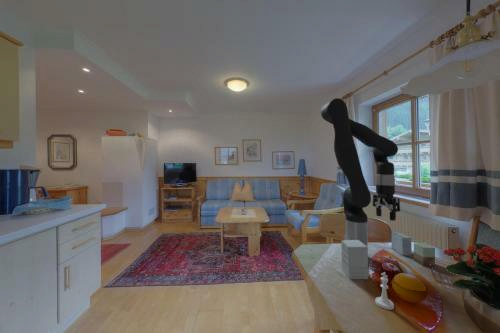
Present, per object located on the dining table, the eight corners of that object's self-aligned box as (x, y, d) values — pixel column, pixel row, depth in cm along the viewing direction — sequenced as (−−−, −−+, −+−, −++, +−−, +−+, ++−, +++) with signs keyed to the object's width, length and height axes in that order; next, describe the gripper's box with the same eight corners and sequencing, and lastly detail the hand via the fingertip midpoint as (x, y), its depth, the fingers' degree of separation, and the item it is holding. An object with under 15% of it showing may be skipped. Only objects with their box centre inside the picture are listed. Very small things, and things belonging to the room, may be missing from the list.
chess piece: (387, 311, 60) (387, 278, 60) (371, 301, 64) (371, 270, 64) (397, 306, 62) (397, 274, 62) (381, 297, 66) (381, 267, 66)
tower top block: (423, 257, 86) (423, 247, 86) (413, 251, 91) (413, 243, 91) (435, 257, 86) (435, 247, 86) (425, 251, 91) (425, 243, 91)
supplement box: (359, 269, 84) (359, 239, 83) (368, 280, 76) (368, 247, 76) (341, 269, 84) (340, 239, 84) (348, 279, 77) (348, 246, 76)
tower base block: (423, 266, 86) (423, 257, 86) (413, 260, 91) (413, 251, 91) (435, 266, 86) (435, 257, 86) (425, 260, 91) (425, 251, 91)
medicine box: (412, 256, 95) (412, 238, 95) (402, 256, 96) (402, 238, 95) (399, 249, 103) (399, 232, 103) (391, 249, 103) (391, 232, 103)
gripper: (367, 183, 103) (367, 215, 102) (389, 185, 88) (389, 222, 88) (381, 183, 103) (381, 214, 103) (405, 185, 89) (405, 221, 89)
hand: (385, 218), depth 95 cm, fingers open, 8 cm apart
